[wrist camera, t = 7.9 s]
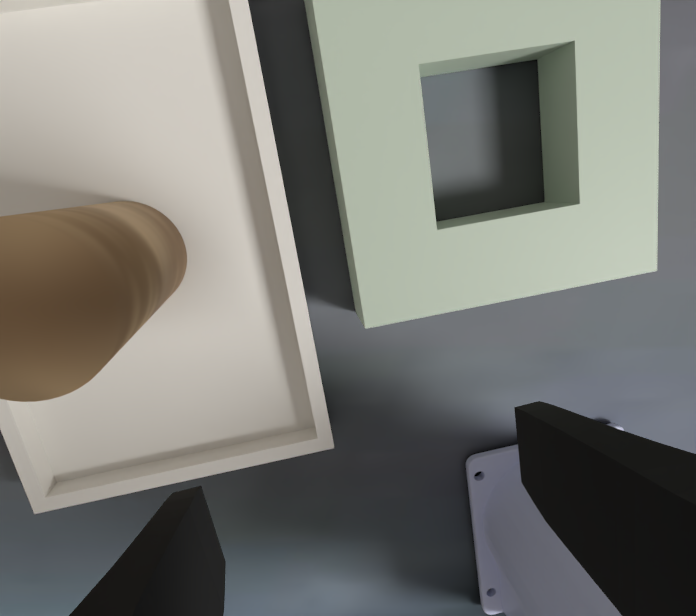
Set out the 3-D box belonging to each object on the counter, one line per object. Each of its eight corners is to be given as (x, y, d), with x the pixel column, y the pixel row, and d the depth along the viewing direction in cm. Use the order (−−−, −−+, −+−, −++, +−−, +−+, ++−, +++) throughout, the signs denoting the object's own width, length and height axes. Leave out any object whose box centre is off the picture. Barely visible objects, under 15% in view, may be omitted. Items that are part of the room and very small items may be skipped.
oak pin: (198, 297, 18) (139, 382, 11) (91, 316, 18) (-48, 417, 10) (172, 192, 17) (86, 202, 10) (58, 210, 17) (-127, 235, 9)
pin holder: (614, 261, 21) (657, 270, 19) (355, 312, 20) (365, 328, 18) (611, -44, 18) (661, -79, 16) (303, -2, 17) (306, -33, 15)
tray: (329, 424, 21) (334, 448, 20) (57, 483, 20) (34, 514, 19) (242, -27, 17) (237, -54, 15) (-119, 20, 16) (-174, -3, 14)
